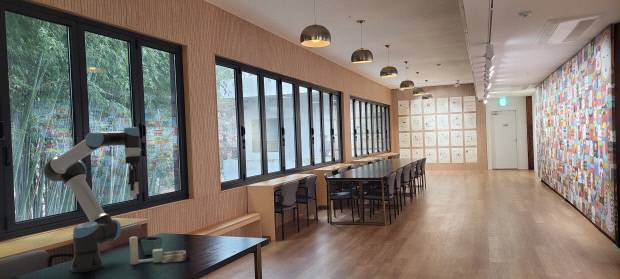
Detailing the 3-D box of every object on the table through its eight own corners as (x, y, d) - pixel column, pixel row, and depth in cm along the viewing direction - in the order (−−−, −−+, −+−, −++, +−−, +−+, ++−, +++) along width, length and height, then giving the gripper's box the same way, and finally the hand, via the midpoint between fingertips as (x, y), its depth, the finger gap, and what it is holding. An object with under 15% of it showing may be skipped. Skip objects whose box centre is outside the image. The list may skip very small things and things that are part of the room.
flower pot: (155, 256, 258) (154, 240, 258) (141, 255, 260) (140, 240, 260) (163, 252, 267) (162, 236, 267) (149, 252, 269) (149, 236, 269)
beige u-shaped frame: (162, 263, 242) (162, 256, 242) (163, 258, 252) (163, 252, 252) (185, 260, 245) (185, 254, 245) (186, 256, 255) (185, 250, 255)
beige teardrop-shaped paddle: (130, 265, 240) (128, 238, 240) (131, 262, 245) (130, 236, 245) (162, 261, 245) (161, 235, 245) (163, 259, 249) (162, 233, 249)
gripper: (137, 156, 232) (139, 197, 232) (142, 154, 257) (144, 192, 257) (121, 156, 231) (123, 198, 231) (128, 155, 255) (130, 193, 255)
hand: (134, 195), depth 244 cm, fingers open, 13 cm apart
